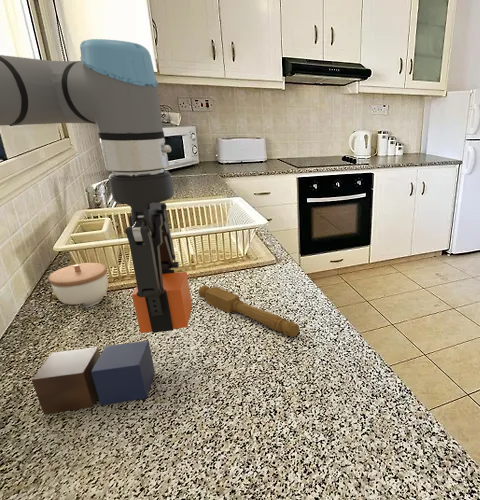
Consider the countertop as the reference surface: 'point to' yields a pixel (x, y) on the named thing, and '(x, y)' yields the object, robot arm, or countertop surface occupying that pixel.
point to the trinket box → (80, 284)
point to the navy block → (123, 372)
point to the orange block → (177, 301)
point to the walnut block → (67, 380)
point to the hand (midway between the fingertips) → (167, 317)
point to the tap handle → (246, 309)
